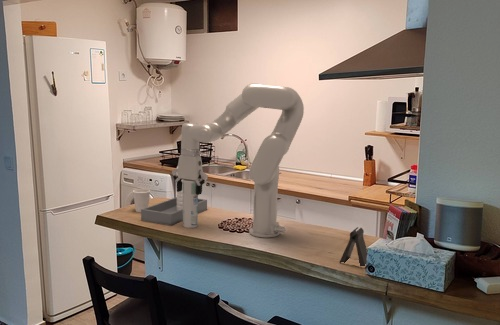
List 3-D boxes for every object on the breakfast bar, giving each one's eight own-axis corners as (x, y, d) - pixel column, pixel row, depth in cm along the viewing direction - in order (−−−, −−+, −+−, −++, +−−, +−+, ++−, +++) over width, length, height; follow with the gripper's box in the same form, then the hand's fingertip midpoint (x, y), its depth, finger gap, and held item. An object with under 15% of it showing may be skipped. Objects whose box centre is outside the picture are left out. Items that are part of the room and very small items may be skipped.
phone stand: (339, 263, 150) (341, 229, 148) (345, 257, 155) (347, 224, 153) (365, 268, 145) (367, 234, 143) (370, 263, 150) (372, 229, 148)
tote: (207, 209, 214) (207, 199, 213) (171, 225, 187) (171, 214, 186) (179, 205, 221) (179, 195, 220) (141, 220, 194) (140, 209, 193)
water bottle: (184, 212, 204) (184, 159, 201) (173, 210, 208) (173, 158, 204) (196, 208, 212) (196, 157, 208) (185, 206, 215) (185, 156, 211)
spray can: (194, 228, 184) (194, 181, 181) (180, 227, 186) (180, 180, 182) (200, 224, 190) (200, 179, 187) (186, 222, 192) (186, 177, 189)
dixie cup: (140, 214, 204) (139, 193, 202) (129, 210, 209) (128, 190, 207) (154, 210, 210) (154, 190, 209) (143, 207, 215) (143, 187, 214)
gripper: (212, 153, 183) (211, 193, 186) (177, 149, 190) (177, 188, 193) (203, 155, 176) (202, 197, 179) (167, 151, 183) (166, 191, 186)
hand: (189, 192), depth 186 cm, fingers open, 9 cm apart
